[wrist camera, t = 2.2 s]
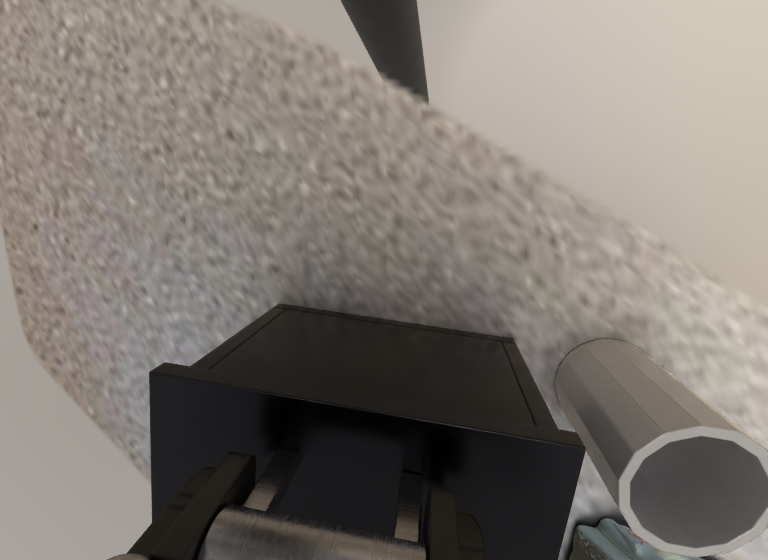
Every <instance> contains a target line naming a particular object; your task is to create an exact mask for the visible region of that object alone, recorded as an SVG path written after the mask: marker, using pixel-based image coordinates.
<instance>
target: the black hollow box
mask: <svg viewBox="0 0 768 560" xmlns="http://www.w3.org/2000/svg"><path fill="white" fill-rule="evenodd" d="M190 367H195V368H201V369H207V370H213V371H219V372H225V373H230V374H236V375H242V376H248V377H254V378H260V379H266V380H271V381H277V382H283V383H289V384H295V385H301V386H307V387H312V388H318V389H324V390H330V391H336V392H342V393H348V394H353V395H359V396H365V397H371V398H377V399H383V400H389V401H394V402H400V403H406V404H412V405H418V406H424V407H430V408H435V409H441V410H447V411H453V412H459V413H465V414H471V415H476V416H482V417H488V418H494V419H500V420H506V421H512V422H517V423H523V424H529V425H535V426H541V427H547V428H553V429H558V428H557V426H556V424H555V422H554V420H553V418H552V416H551V414H550V412H549V410H548V408H547V406H546V404H545V402H544V400H543V398H542V396H541V394H540V391H539V389H538V387H537V385H536V383H535V381H534V379H533V377H532V375H531V373H530V371H529V369H528V367H527V365H526V363H525V361H524V359H523V357H522V355H521V353H520V351H519V349H518V347H517V345H516V343H515V341H514V339H512V338H505V337H499V336H492V335H485V334H479V333H472V332H465V331H459V330H452V329H446V328H439V327H432V326H426V325H419V324H412V323H406V322H399V321H392V320H386V319H379V318H372V317H366V316H359V315H352V314H346V313H339V312H332V311H326V310H319V309H312V308H306V307H299V306H292V305H286V304H277V305H276V306H275V307H274V308H272V309H270V310H269V311H268V312H266V313H265V314H263V315H262V316H261V317H259V318H258V319H256V320H255V321H254V322H252V323H251V324H249V325H248V326H246V327H245V328H244V329H242V330H241V331H239V332H238V333H237V334H235V335H234V336H232V337H231V338H230V339H228V340H227V341H225V342H224V343H222V344H221V345H220V346H218V347H217V348H215V349H214V350H213V351H211V352H210V353H208V354H207V355H206V356H204V357H203V358H201V359H200V360H198V361H197V362H196V363H194V364H193V365H191V366H190Z"/></svg>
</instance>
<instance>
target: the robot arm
mask: <svg viewBox="0 0 768 560" xmlns="http://www.w3.org/2000/svg"><path fill="white" fill-rule="evenodd" d="M255 480H256V457H255V455H250V454H245V453H239V452H233V451H230V452H228V453H227V454H226V455H225V457H224V458H223V459H222V461H221V462H220V463H219V465H218V466H217V467H216V468H213V467H205V468H204V469H202V470H201V471H199V472H198V473H196V474H195V475H193V476H191V477H190V478H189V479H188V480H187V482H186V483H185V484H184V485H183V486H182V488H181V489H180V490H179V491H178V494H177V495H175V496H174V497H173V498H172V500H171V501H170V502H169V503H168V506H167V507H165V508H164V509H163V510H162V512H161V513H160V514H159V515H158V516H157V518H156V519H155V520H154V521H153V522H152V524H151V525H150V526H149V527H148V529H147V530H146V531H145V532H144V533H143V535H142V536H141V537H140V538H139V539H138V541H137V542H136V543H135V544H134V545H133V547H132V548H131V549H130V550H129V551H128V552H127V554H122V555H118V556H115V557H112V558H110V559H108V560H196V557H197V554H198V551H199V548H200V545H201V543H202V540H203V538H204V536H205V534H206V532H207V530H208V528H209V526H210V524H211V522H212V521H213V519H214V518H215V516H216V515H217V513H218V512H219V511H220V510H221V509H222V508H223V507H224V506H226V505H229V504H234V505H239V506H242V505H243V503H244V502H245V500H246V499H247V497H248V496H249V494H250V492H251V491H252V489H253V488H254V486H255ZM421 543H424V544H425V545H427V548H428V560H487V556H486V553H485V543H484V536H483V531H482V529H481V527H480V526H479V524H478V522H477V521H476V519H475V517H474V516H473V514H468V513H462V512H457V504H456V493H455V491H454V490H449V489H443V488H437V487H431V486H429V490H428V496H427V502H426V509H425V515H424V521H423V528H422V535H421Z"/></svg>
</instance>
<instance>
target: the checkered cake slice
mask: <svg viewBox="0 0 768 560" xmlns="http://www.w3.org/2000/svg"><path fill="white" fill-rule="evenodd" d="M569 560H705V559H701V558H700V557H690V556H685V555H679V554H674V553H669V552H664V551H661V550H659V549H657V548H656V547H654V546H653V545H651V544H649V543H648V542H646V541H645V540H643V539H642V538H640V537H639V536H637V535H636V534H634V533H633V532H632V530H631V529H630V528H628V527H626V526H622V525H619V524H617V523H616V522H615V521H614V520H613V519H608V518H605V519H602V520H601V521H600V523H599V525H598V526H597V527H596V528H593V527H590V526H585V525H578V526H577V527H576V529H575V534H574V537H573V551H572V553H571V555H570V558H569Z"/></svg>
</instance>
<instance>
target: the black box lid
mask: <svg viewBox="0 0 768 560" xmlns="http://www.w3.org/2000/svg"><path fill="white" fill-rule="evenodd" d="M149 384H150V437H151V489H152V522H153V521H154V520H155V519H156V518H157V516H158V515H159V514H160V513H161V512H162V510H163V509H164V508H165V507H167V506H168V503H169V502H170V501H171V500H172V498H173V497H174V496H175V495H177V494H178V491H179V490H180V489H181V488H182V486H183V485H184V484H185V483H186V482H187V480H188V479H189V478H190V477H191V476H193V475H195V474H196V473H198V472H199V471H201V470H202V469H204V468H205V467H213V468H216V467H217V466H218V465H219V463H220V462H221V461H222V459H223V458H224V457H225V455H226V454H227V453H228V452H230V451H233V452H239V453H245V454H250V455H255V457H256V480H255V486H254V488H253V489H252V491H251V492H250V494H249V496H248V497H247V499H246V500H245V502H244V503H243V505H242V506H239V505H234V504H229V505H226V506H224V507H223V508H222V509H221V510H220V511H219V512H218V513H217V515H216V516H215V518H214V519H213V521H212V522H211V524H210V526H209V528H208V530H207V532H206V534H205V536H204V538H203V540H202V543H201V545H200V548H199V551H198V554H197V557H196V560H428V548H427V545H425V544H424V543H421V535H422V528H423V521H424V515H425V509H426V502H427V496H428V490H429V486H431V487H437V488H443V489H449V490H454V491H455V493H456V504H457V512H462V513H468V514H473V516H474V517H475V519H476V521H477V522H478V524H479V526H480V527H481V529H482V531H483V536H484V543H485V553H486V556H487V560H558V556H559V552H560V548H561V545H562V541H563V537H564V533H565V529H566V525H567V521H568V517H569V513H570V509H571V505H572V501H573V497H574V494H575V490H576V486H577V482H578V478H579V474H580V470H581V466H582V462H583V458H584V454H585V450H586V447H585V445H584V443H583V442H582V440H581V438H580V436H579V435H578V433H576V432H570V431H564V430H558V429H553V428H547V427H541V426H535V425H529V424H523V423H517V422H512V421H506V420H500V419H494V418H488V417H482V416H476V415H471V414H465V413H459V412H453V411H447V410H441V409H435V408H430V407H424V406H418V405H412V404H406V403H400V402H394V401H389V400H383V399H377V398H371V397H365V396H359V395H353V394H348V393H342V392H336V391H330V390H324V389H318V388H312V387H307V386H301V385H295V384H289V383H283V382H277V381H271V380H266V379H260V378H254V377H248V376H242V375H236V374H230V373H225V372H219V371H213V370H207V369H201V368H195V367H190V366H184V365H178V364H172V363H166V362H165V363H163V364H161V365H160V366H158V367H156V368H155V369H153V370H152V371H150V372H149Z"/></svg>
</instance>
